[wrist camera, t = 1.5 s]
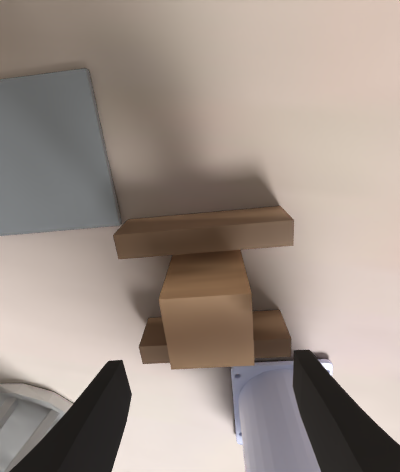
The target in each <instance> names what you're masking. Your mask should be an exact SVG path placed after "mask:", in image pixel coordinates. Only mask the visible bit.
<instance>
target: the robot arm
mask: <svg viewBox="0 0 400 472" xmlns="http://www.w3.org/2000/svg"><path fill="white" fill-rule="evenodd" d="M332 372H333V364H332V363H331V361H330V360H328V359H317V358H316V357H315V355H314V354H313V353H312V352H311V351H310V350H295V351H294V361H276V362H255V363H254V366H233V367H231V378H232V390H233V402H234V415H235V427H236V439H237V443H238V444H240V445H243V453H244V462H245V472H400V445H399V444H398V443H397V442H396V441H394V440H393V439H392V438H391V437H390V436H389V435H388V434H387V433H386V432H385V431H384V430H383V429H382V428H381V427H379V426H378V425H377V424H376V423H375V422H374V421H373V420H372V419H371V418H370V417H369V416H368V415H367V414H366V413H365V412H364V411H363V410H362V409H361V408H360V407H359V405H358V404H357V403H356V402H355V401H354V400H353V399H352V398H351V397H350V396H349V395H348V394H347V393H346V392H345V390H344V389H343V388H342V387H341V386H340V385H339V384H338V383H337V382H336V381H335V379H334V378H333V377H332ZM236 374H238V375H236ZM131 396H132V393H131V390H130V386H129V383H128V379H127V375H126V372H125V368H124V364H123V361H122V360H116V361H108V362H107V363H106V364H105V366H104V367H103V368H102V369H101V371H100V372H99V373H98V374H97V376H96V377H95V378H94V379H93V381H92V382H91V383H90V384H89V386H88V387H87V388H86V389H85V391H84V392H83V393H82V394H81V395H80V397H79V398H78V399H77V400H76V401H75V403H74V404H73V405H72V406H71V407H70V409H69V410H68V411H67V412H66V413H65V414H64V415H63V417H62V418H61V419H60V420H59V421H58V422H57V423H56V424H55V425H54V427H53V428H52V429H51V430H50V431H49V432H48V433H47V434H46V435H45V436H44V437H43V438H42V440H41V441H40V442H39V443H38V444H37V445H36V446H35V447H34V448H33V449H32V450H31V451H30V452H29V453H28V454H27V455H26V456H25V457H24V458H23V459H22V460H21V461H20V462H19V463H18V464H17V465H16V466H14V467H13V468H12V469H11V470H10V471H9V472H111V471H112V468H113V465H114V462H115V458H116V455H117V452H118V448H119V445H120V442H121V439H122V435H123V432H124V428H125V425H126V422H127V417H128V412H129V407H130V401H131Z"/></svg>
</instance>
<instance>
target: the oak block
mask: <svg viewBox="0 0 400 472" xmlns="http://www.w3.org/2000/svg"><path fill="white" fill-rule="evenodd" d="M159 305H160V310H161V316H162V321H163V326H164V332H165V337H166V343H167V348H168V354H169V359H170V364H171V369H191V368H212V367H233V366H254V340H253V315H252V293H251V289H250V285H249V281H248V277H247V273H246V270H245V266H244V262H243V258H242V254H241V250H230V251H217V252H204V253H192V254H179V255H172V258H171V262H170V265H169V268H168V271H167V274H166V278H165V281H164V284H163V287H162V290H161V293H160V297H159Z"/></svg>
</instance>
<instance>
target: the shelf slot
mask: <svg viewBox="0 0 400 472" xmlns="http://www.w3.org/2000/svg"><path fill="white" fill-rule="evenodd" d="M293 236H294V220H293V219H292V217H291V216H290V215H289V214H288V213H287V212H286V211H285V210H284V209H283V208H282V207H281V206H274V207H263V208H251V209H240V210H229V211H217V212H206V213H195V214H184V215H172V216H161V217H150V218H139V219H128V220H127V221H126V222H125V223H124V224H123V225H122V227H121V228H120V229H119V230H118V231H117V232H116V233H115V234H114V235H113V237H114V241H115V246H116V250H117V254H118V259H128V258H141V257H153V256H166V255H179V254H192V253H204V252H217V251H230V250H243V249H256V248H268V247H281V246H293ZM252 315H253V340H254V358H272V357H291V337H290V334H289V332H288V329H287V327H286V324H285V322H284V319H283V317H282V314H281V311H280V310H270V311H254V312H252ZM139 349H140V354H141V358H142V362H143V364H152V363H170V359H169V354H168V348H167V343H166V337H165V332H164V326H163V321H162V317H157V318H148V321H147V324H146V327H145V330H144V333H143V336H142V339H141V342H140V345H139Z"/></svg>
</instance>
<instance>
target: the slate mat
mask: <svg viewBox="0 0 400 472" xmlns="http://www.w3.org/2000/svg"><path fill="white" fill-rule="evenodd" d="M121 224H122V222H121V217H120V213H119V208H118V204H117V199H116V194H115V190H114V185H113V180H112V176H111V171H110V166H109V162H108V157H107V152H106V148H105V143H104V139H103V134H102V129H101V125H100V120H99V115H98V111H97V106H96V101H95V97H94V92H93V87H92V83H91V78H90V74H89V70H88V69H86V68H84V69H76V70H69V71H61V72H53V73H46V74H38V75H30V76H23V77H15V78H7V79H0V236H5V235H17V234H28V233H40V232H51V231H62V230H74V229H85V228H97V227H108V226H120V225H121Z"/></svg>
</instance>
